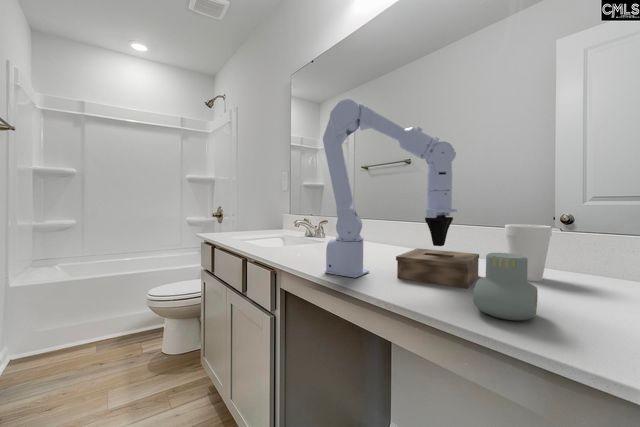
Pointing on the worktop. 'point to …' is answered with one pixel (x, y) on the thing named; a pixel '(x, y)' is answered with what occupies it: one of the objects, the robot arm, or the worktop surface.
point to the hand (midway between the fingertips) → (438, 245)
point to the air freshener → (506, 288)
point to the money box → (438, 267)
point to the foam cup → (530, 246)
